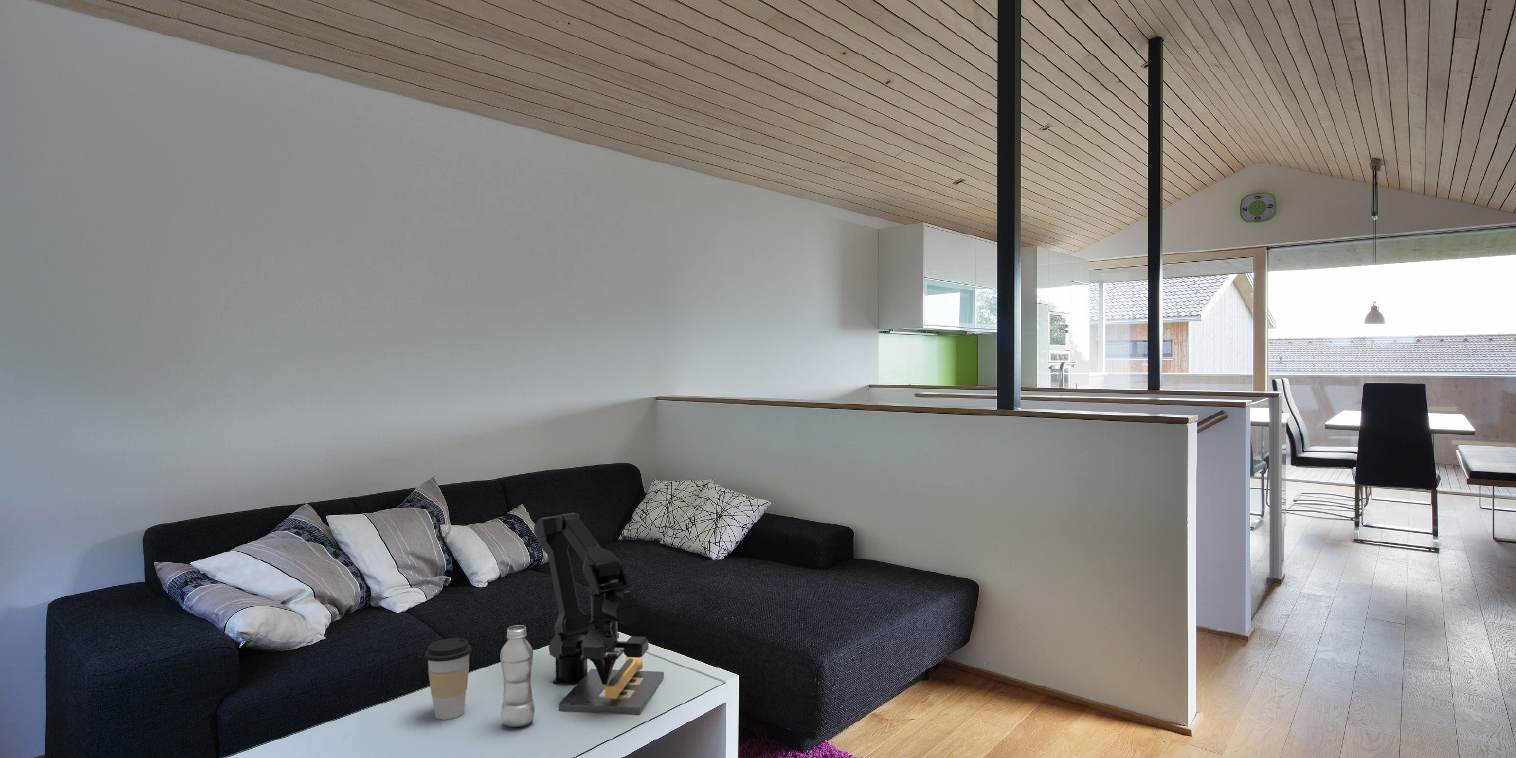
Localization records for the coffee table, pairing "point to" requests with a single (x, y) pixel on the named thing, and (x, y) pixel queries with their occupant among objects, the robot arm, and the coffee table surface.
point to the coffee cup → (448, 676)
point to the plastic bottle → (517, 678)
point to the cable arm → (623, 677)
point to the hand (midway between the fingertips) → (605, 684)
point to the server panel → (629, 701)
